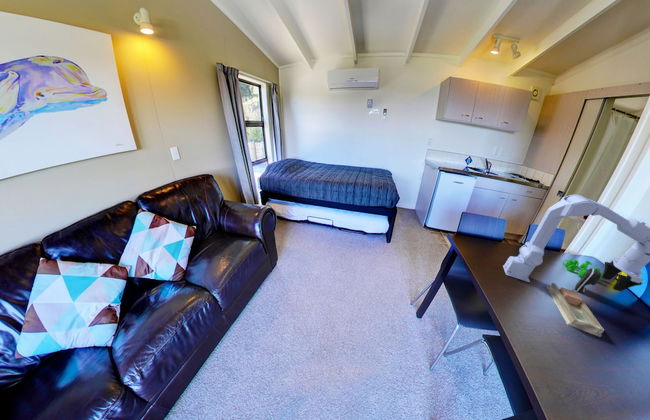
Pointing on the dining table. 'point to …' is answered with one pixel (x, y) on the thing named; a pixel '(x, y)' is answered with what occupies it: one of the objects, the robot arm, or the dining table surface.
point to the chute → (576, 313)
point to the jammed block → (571, 296)
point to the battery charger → (588, 280)
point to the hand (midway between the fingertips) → (610, 284)
